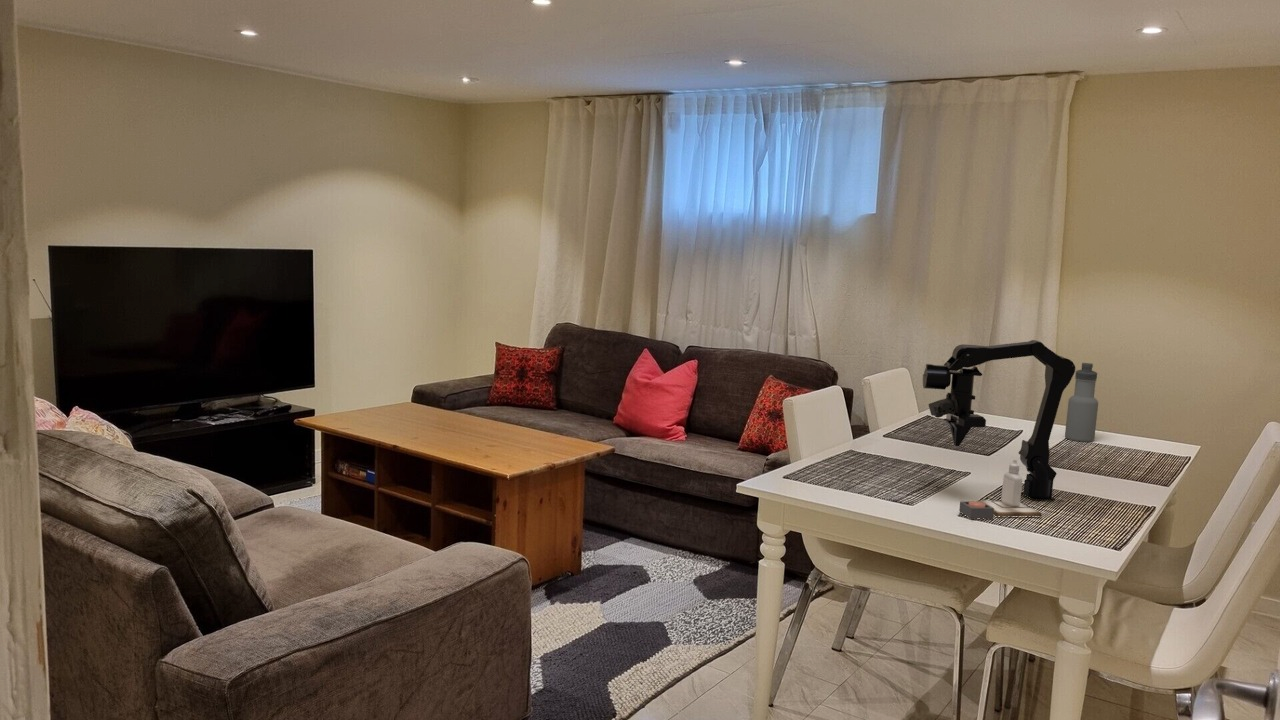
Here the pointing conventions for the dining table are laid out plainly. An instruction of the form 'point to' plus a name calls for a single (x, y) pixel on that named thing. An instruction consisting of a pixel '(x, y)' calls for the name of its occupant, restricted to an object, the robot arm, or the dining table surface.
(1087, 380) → the water bottle
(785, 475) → the dining table surface
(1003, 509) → the board
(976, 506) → the button
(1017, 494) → the eye dropper bottle
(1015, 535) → the dining table surface
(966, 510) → the button housing
